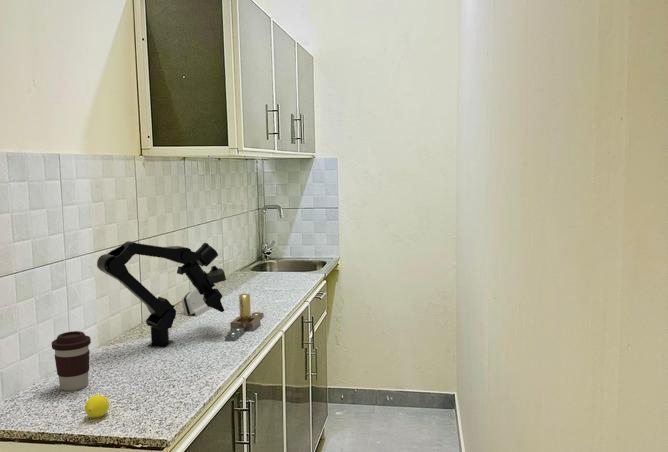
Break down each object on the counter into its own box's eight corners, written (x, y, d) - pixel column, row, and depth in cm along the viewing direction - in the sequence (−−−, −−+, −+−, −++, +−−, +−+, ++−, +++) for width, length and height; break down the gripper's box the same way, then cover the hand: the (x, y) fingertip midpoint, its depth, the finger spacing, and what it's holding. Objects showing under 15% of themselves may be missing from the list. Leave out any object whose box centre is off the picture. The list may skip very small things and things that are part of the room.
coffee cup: (49, 386, 168) (45, 334, 166) (85, 377, 174) (81, 327, 173) (63, 396, 161) (59, 342, 159) (99, 386, 167) (96, 334, 166)
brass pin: (246, 329, 220) (245, 296, 219) (238, 328, 222) (236, 295, 221) (253, 326, 224) (252, 294, 222) (244, 325, 226) (243, 293, 224)
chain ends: (241, 341, 206) (241, 332, 206) (218, 340, 208) (217, 331, 208) (269, 316, 238) (269, 309, 238) (249, 315, 240) (248, 308, 239)
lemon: (93, 412, 151) (94, 391, 151) (114, 413, 150) (114, 392, 150) (78, 421, 144) (78, 398, 144) (99, 422, 143) (100, 399, 143)
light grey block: (196, 316, 241) (187, 293, 240) (186, 319, 242) (178, 296, 242) (215, 306, 257) (207, 284, 256) (205, 309, 258) (197, 287, 258)
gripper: (222, 270, 205) (245, 303, 213) (209, 253, 222) (231, 284, 229) (195, 290, 203) (219, 322, 210) (183, 271, 219) (206, 301, 226)
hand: (220, 306), depth 219 cm, fingers open, 9 cm apart
